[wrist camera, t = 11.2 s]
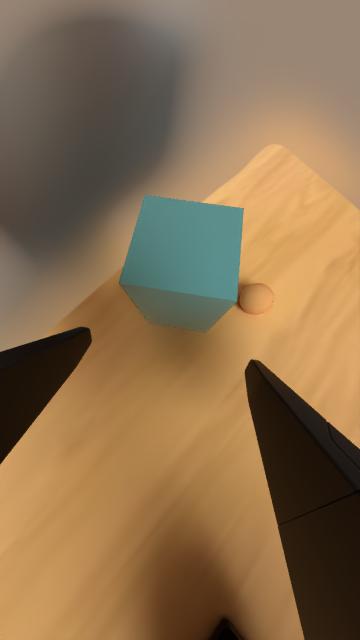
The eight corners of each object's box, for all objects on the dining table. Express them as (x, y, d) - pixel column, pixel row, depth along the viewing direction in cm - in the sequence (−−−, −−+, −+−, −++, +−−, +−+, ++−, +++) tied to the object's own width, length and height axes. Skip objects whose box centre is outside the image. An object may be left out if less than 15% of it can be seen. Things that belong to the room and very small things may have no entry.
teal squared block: (206, 332, 18) (236, 301, 8) (149, 323, 18) (119, 283, 9) (212, 281, 19) (243, 208, 10) (160, 273, 19) (144, 194, 10)
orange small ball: (268, 304, 19) (288, 291, 15) (252, 324, 18) (268, 315, 15) (246, 286, 19) (260, 270, 16) (229, 305, 18) (240, 292, 15)
